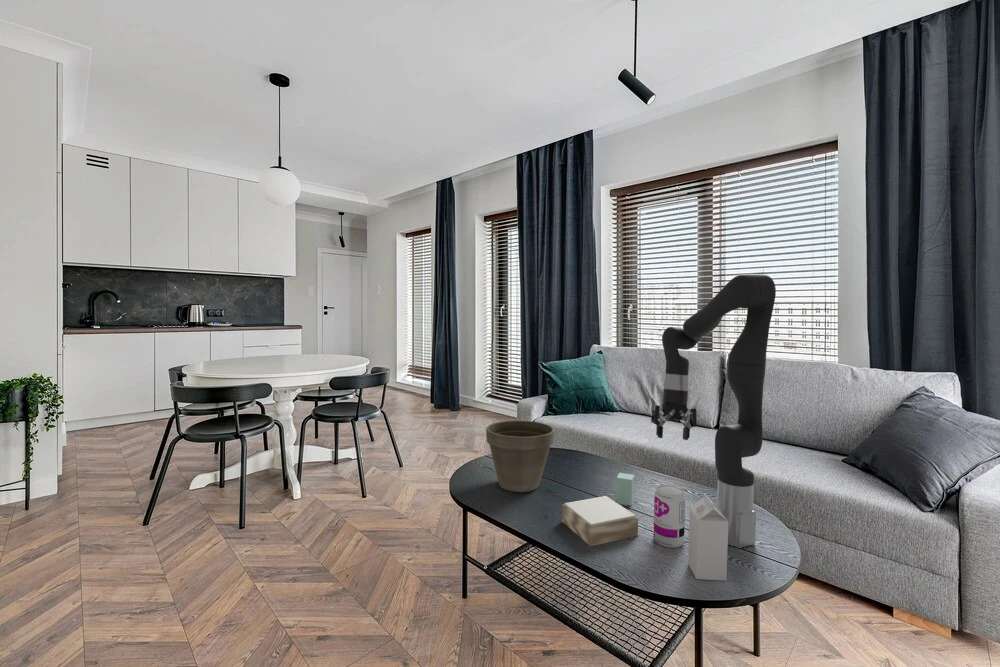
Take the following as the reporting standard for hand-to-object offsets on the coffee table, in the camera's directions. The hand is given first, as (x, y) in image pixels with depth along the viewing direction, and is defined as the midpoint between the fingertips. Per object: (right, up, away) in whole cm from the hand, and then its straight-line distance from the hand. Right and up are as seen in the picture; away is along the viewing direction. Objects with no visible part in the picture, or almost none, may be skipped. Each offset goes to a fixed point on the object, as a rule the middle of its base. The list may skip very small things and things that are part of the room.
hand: (672, 438), depth 156 cm
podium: (-26, -24, -11) cm, 38 cm away
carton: (-13, -23, +8) cm, 28 cm away
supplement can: (-8, -25, -19) cm, 33 cm away
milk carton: (-4, -26, -35) cm, 44 cm away
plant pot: (-49, -22, +23) cm, 58 cm away
